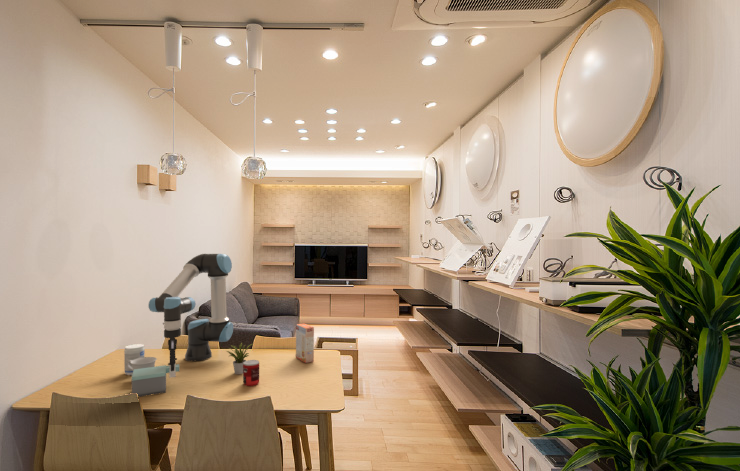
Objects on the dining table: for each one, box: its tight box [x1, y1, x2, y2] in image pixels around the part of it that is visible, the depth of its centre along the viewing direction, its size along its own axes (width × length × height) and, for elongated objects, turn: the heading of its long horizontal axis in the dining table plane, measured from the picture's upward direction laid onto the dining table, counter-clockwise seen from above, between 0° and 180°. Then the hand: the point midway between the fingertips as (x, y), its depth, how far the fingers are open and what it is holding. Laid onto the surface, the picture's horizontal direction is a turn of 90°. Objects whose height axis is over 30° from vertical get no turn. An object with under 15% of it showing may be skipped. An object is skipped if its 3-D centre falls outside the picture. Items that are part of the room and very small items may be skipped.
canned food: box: [242, 359, 260, 387], centre depth 199 cm, size 8×8×11 cm
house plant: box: [226, 342, 253, 375], centre depth 216 cm, size 14×14×16 cm
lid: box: [131, 363, 180, 382], centre depth 190 cm, size 20×12×2 cm, turn 117°
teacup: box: [127, 356, 158, 371], centre depth 205 cm, size 12×15×10 cm
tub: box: [131, 375, 167, 398], centre depth 189 cm, size 14×11×8 cm
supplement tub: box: [123, 343, 145, 376], centre depth 214 cm, size 10×10×15 cm
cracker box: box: [295, 322, 315, 364], centre depth 237 cm, size 14×6×21 cm, turn 34°
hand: (172, 375), depth 193 cm, fingers closed on lid, 4 cm apart
